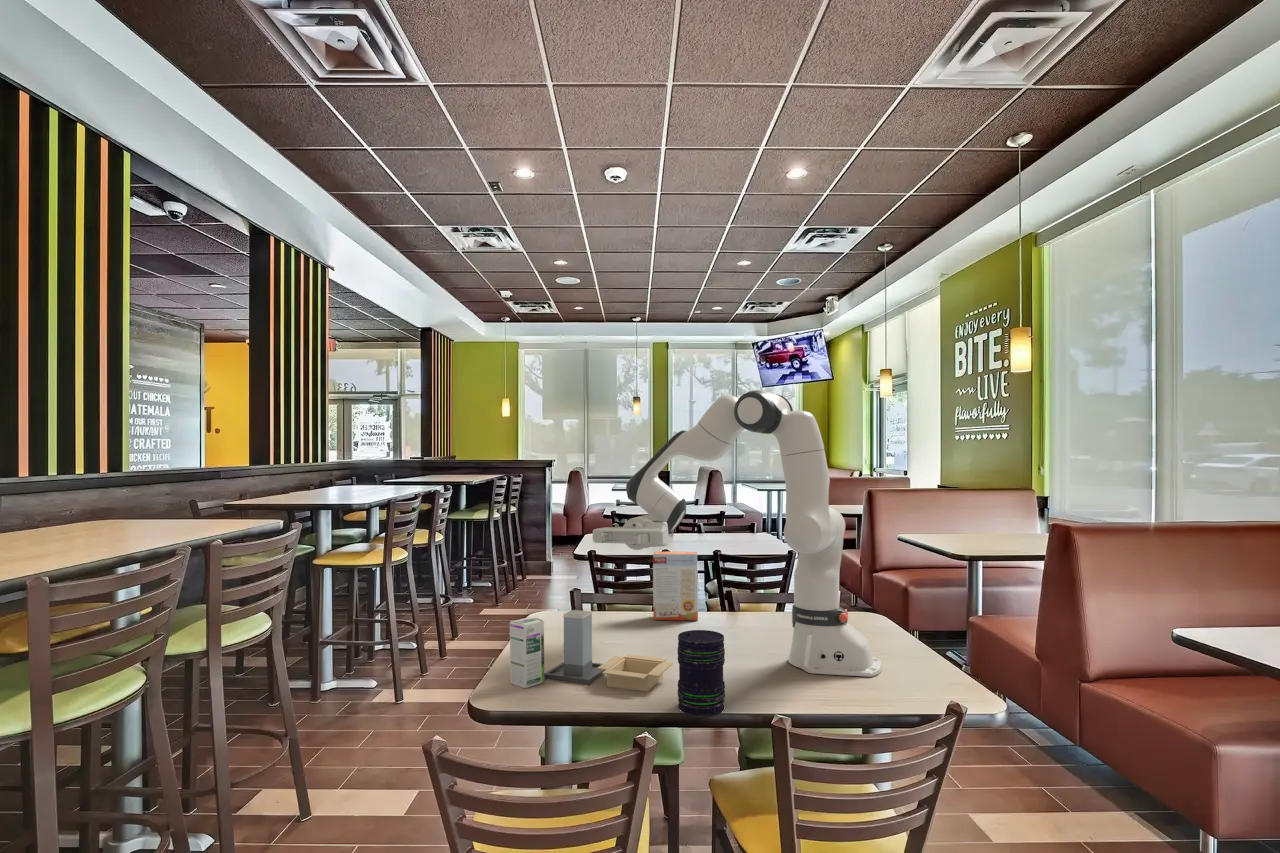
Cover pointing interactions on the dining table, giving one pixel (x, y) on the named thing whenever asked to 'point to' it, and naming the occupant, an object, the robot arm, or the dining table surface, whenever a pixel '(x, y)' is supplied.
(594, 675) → the tray
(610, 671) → the carton
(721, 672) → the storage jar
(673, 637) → the dining table surface
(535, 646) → the syrup box
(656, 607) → the cracker box
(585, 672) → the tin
